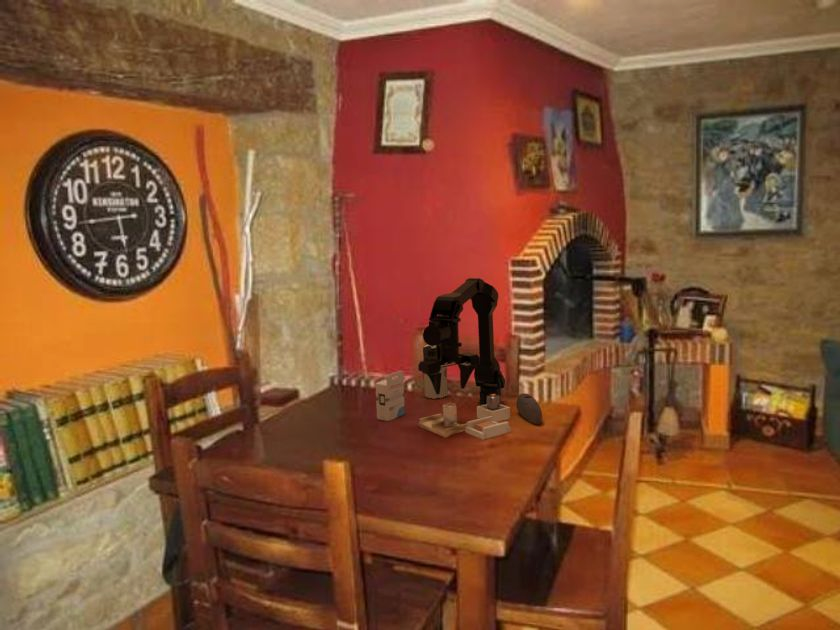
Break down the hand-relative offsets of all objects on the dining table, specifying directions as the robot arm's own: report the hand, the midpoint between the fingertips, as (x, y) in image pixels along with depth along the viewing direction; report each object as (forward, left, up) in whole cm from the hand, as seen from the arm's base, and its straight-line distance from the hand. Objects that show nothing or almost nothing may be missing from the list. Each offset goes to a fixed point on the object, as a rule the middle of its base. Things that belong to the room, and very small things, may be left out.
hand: (450, 391), depth 191 cm
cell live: (+1, +1, -11) cm, 11 cm away
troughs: (+1, -2, -12) cm, 12 cm away
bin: (-16, +1, -12) cm, 20 cm away
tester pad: (-6, +10, -12) cm, 17 cm away
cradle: (-6, +10, -12) cm, 16 cm away
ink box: (+7, -22, -12) cm, 26 cm away
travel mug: (-18, -32, -12) cm, 39 cm away
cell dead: (-16, +1, -11) cm, 19 cm away
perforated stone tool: (-24, +9, -12) cm, 28 cm away
